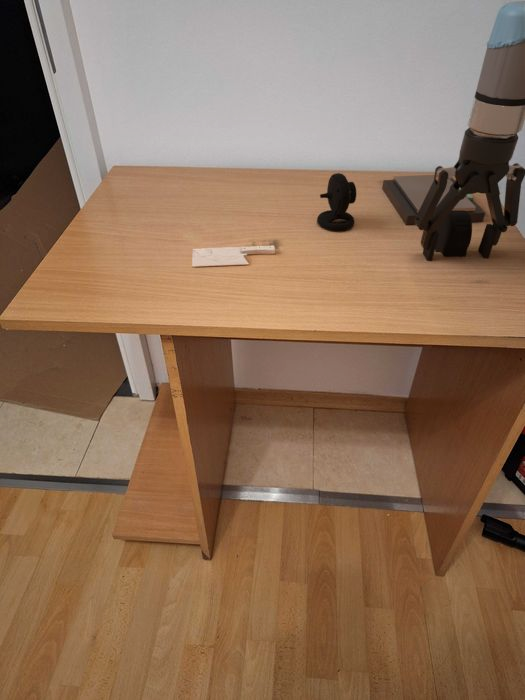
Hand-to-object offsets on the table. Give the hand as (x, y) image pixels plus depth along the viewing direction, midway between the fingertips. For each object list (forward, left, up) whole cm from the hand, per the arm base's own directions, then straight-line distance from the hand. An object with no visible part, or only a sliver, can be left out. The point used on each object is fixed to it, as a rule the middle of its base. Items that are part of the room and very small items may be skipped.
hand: (453, 262), depth 86 cm
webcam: (+18, -17, 0) cm, 25 cm away
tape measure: (0, 0, 0) cm, 0 cm away
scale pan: (-4, -24, +2) cm, 24 cm away
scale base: (-4, -24, 0) cm, 24 cm away
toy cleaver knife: (+39, -5, 0) cm, 39 cm away
